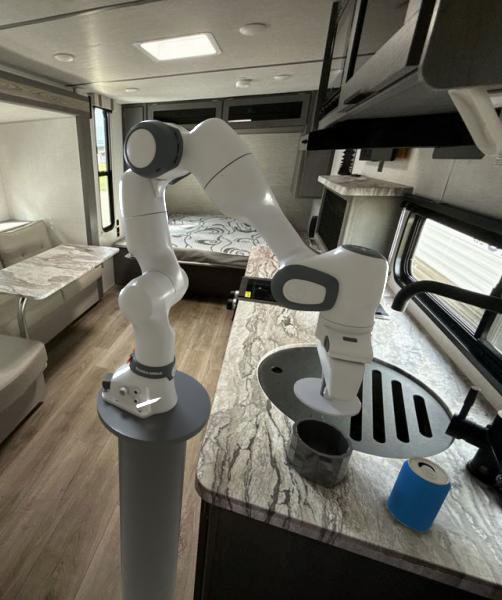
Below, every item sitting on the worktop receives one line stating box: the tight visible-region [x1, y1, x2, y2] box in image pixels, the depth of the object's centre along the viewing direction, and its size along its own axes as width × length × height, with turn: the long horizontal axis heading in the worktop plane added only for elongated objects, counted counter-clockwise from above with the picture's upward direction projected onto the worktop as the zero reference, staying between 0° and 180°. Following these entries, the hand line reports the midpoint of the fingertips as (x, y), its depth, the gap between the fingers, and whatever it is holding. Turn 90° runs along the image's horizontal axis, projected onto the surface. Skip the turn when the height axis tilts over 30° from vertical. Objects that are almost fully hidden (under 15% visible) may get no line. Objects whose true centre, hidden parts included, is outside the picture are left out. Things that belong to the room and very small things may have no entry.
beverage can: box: [386, 455, 452, 532], centre depth 56 cm, size 6×6×12 cm
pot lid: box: [293, 377, 362, 418], centre depth 63 cm, size 12×12×5 cm
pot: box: [286, 412, 355, 486], centre depth 68 cm, size 12×17×7 cm
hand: (326, 391), depth 64 cm, fingers closed on pot lid, 2 cm apart
